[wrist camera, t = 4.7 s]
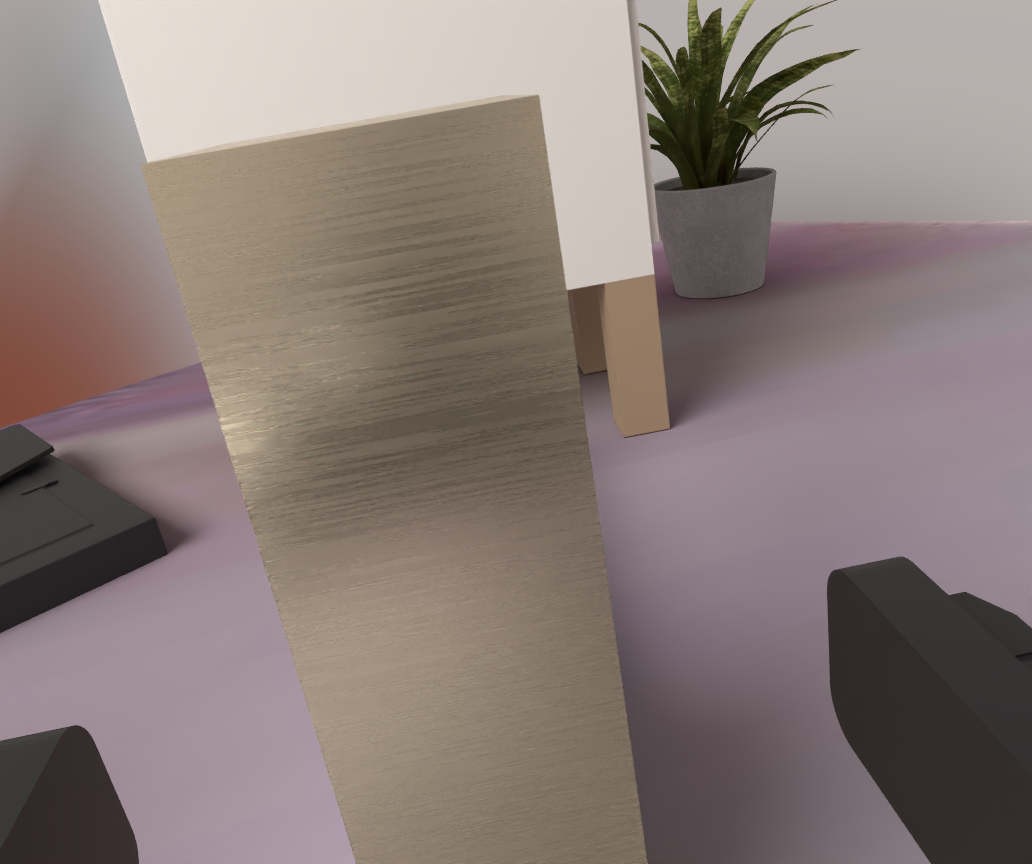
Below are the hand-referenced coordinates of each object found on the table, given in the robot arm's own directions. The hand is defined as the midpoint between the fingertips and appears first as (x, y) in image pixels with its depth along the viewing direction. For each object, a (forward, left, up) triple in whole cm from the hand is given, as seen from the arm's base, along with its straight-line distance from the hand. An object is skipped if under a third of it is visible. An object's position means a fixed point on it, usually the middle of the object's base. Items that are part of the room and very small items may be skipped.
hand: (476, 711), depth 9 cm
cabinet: (0, -28, -7) cm, 28 cm away
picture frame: (+24, -20, -8) cm, 32 cm away
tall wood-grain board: (0, -10, -7) cm, 12 cm away
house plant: (-16, -41, -7) cm, 45 cm away
